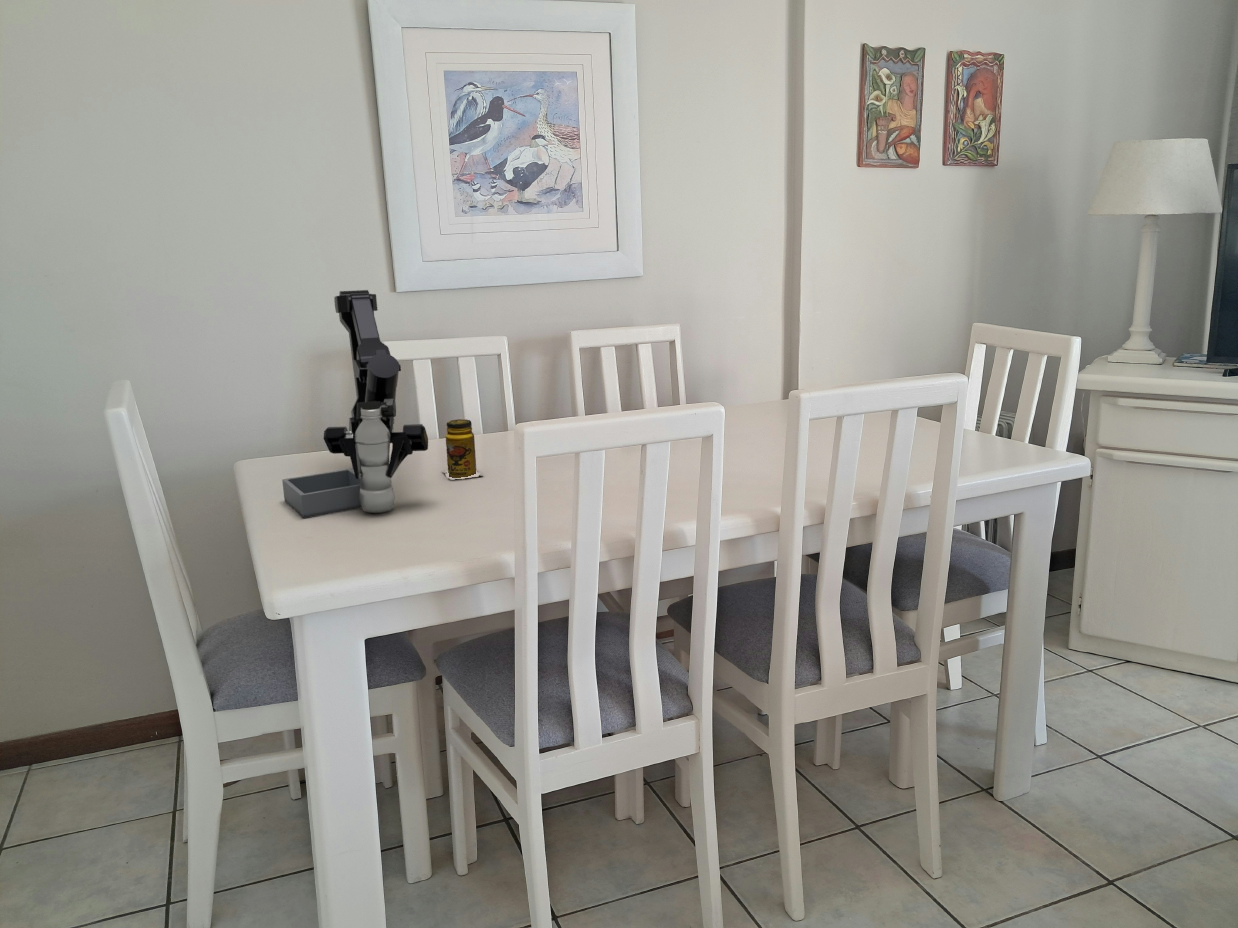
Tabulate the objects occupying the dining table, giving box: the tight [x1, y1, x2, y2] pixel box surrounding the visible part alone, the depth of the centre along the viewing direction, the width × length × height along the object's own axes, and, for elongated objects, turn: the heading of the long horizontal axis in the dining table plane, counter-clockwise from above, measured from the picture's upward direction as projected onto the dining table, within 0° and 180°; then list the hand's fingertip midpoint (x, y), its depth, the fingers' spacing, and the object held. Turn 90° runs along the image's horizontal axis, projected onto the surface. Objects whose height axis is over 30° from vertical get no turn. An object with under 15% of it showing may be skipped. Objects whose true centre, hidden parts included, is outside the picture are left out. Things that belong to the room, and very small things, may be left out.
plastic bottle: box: [355, 407, 396, 514], centre depth 173 cm, size 6×7×20 cm
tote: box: [281, 468, 363, 519], centre depth 181 cm, size 14×14×4 cm
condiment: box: [445, 418, 477, 478], centre depth 199 cm, size 7×8×12 cm
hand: (373, 477), depth 173 cm, fingers closed on plastic bottle, 6 cm apart
